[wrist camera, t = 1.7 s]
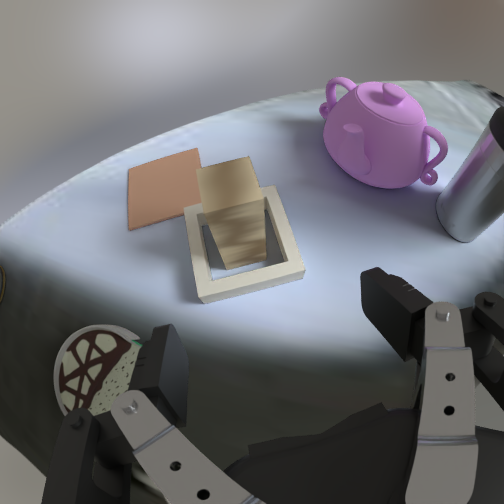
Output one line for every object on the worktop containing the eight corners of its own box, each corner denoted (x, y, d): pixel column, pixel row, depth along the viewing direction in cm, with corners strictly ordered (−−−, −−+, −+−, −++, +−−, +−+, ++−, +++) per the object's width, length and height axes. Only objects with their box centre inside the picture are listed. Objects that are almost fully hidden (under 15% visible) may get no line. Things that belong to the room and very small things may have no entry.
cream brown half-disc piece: (133, 317, 32) (89, 294, 23) (168, 346, 31) (129, 334, 22) (86, 387, 29) (35, 384, 20) (117, 419, 27) (69, 428, 18)
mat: (197, 149, 43) (197, 147, 43) (209, 208, 38) (208, 206, 38) (130, 170, 43) (129, 168, 42) (130, 230, 38) (128, 229, 37)
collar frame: (274, 197, 38) (274, 184, 35) (302, 278, 33) (305, 269, 30) (189, 219, 38) (183, 207, 35) (204, 304, 33) (198, 297, 30)
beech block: (256, 225, 37) (249, 156, 25) (266, 259, 34) (263, 198, 23) (218, 235, 36) (195, 169, 24) (226, 270, 34) (203, 213, 22)
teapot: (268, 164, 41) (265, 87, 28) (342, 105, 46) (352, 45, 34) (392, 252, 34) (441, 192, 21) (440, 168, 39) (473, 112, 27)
